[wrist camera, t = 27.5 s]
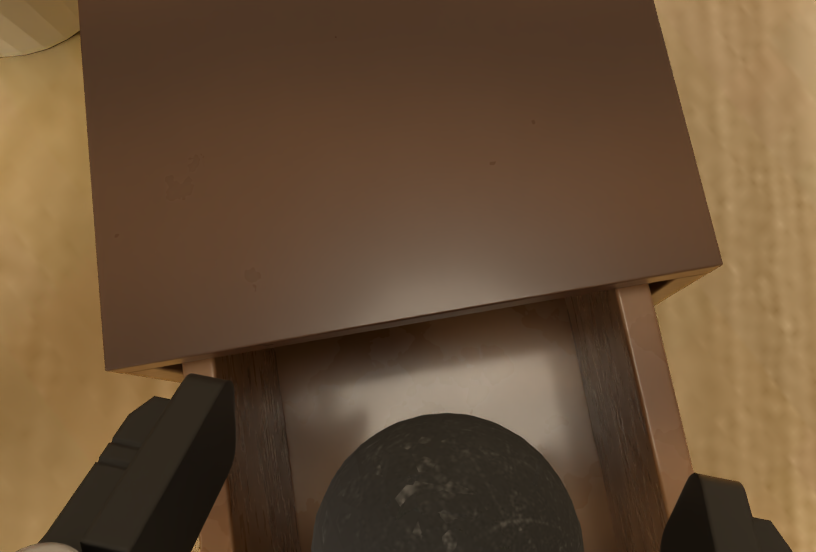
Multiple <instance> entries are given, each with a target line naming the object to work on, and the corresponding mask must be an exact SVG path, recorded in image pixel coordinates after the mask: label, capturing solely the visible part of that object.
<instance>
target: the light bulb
mask: <svg viewBox="0 0 816 552" xmlns="http://www.w3.org/2000/svg"><path fill="white" fill-rule="evenodd" d="M311 552H584V545H583V537H582V529H581V525H580V522H579V519H578V517H577V514H576V511H575V508H574V506H573V503H572V500H571V498H570V496H569V494H568V492H567V490H566V488H565V486H564V485H563V483H562V481H561V479H560V477H559V476H558V475H557V473H556V472H555V471H554V469H553V468H552V467H551V465H550V464H549V462H548V461H547V460H546V459H545V458H544V457H543V455H542V454H541V453H540V452H539V451H537V450H536V449H535V448H534V447H533V446H532V445H530V444H529V443H528V442H527V441H526V440H525V439H523V438H522V437H521V436H519V435H517V434H515V433H514V432H512V431H510V430H508V429H506V428H505V427H503V426H501V425H499V424H497V423H494V422H492V421H489V420H485V419H482V418H479V417H476V416H471V415H468V414H455V413H440V414H428V415H421V416H417V417H414V418H410V419H407V420H403V421H400V422H397V423H395V424H393V425H390V426H389V427H387V428H385V429H383V430H381V431H380V432H378V433H376V434H375V435H374V436H372V437H370V438H369V439H368V440H366V441H365V442H364V443H362V444H361V445H360V446H359V447H358V448H357V449H356V450H355V451H354V452H353V453H352V454H351V455H350V456H349V457H348V458H347V459H346V460H345V461H344V463H343V464H342V465H341V467H340V468H339V470H338V471H337V472H336V474H335V476H334V477H333V479H332V480H331V482H330V485H329V487H328V489H327V491H326V493H325V495H324V497H323V500H322V502H321V505H320V507H319V509H318V512H317V514H316V519H315V524H314V530H313V538H312V545H311Z"/></svg>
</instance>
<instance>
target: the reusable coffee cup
mask: <svg viewBox="0 0 816 552" xmlns="http://www.w3.org/2000/svg"><path fill="white" fill-rule="evenodd" d="M78 31H80V25H79V12H78V0H0V57H9V56H20V55H27V54H31V53H34V52H38V51H41V50H45V49H48V48H50V47H52V46H54V45H56V44H58V43H60V42H63V41H65V40H67V39H68V38H70V37H71V36H73V35H74V34H75V33H77V32H78Z"/></svg>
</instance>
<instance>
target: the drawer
mask: <svg viewBox="0 0 816 552" xmlns="http://www.w3.org/2000/svg"><path fill="white" fill-rule="evenodd" d="M182 367H183V377H184V378H185V377H186V376H187V375H188V374H190V373H194V374H199V375H204V376H209V377H214V378H219V379H224V380H230V381H232V382H233V385H234V397H235V418H236V450H235V455H234V459H233V463H232V466H231V469H230V472H229V474H228V476H227V478H226V480H225V482H224V485H223V487H222V489H221V491H220V493H219V495H218V497H217V499H216V501H215V503H214V505H213V507H212V509H211V511H210V513H209V515H208V518H207V520H206V522H205V524H204V526H203V528H202V530H201V532H200V534H199V541H200V552H311V545H312V538H313V530H314V524H315V519H316V514H317V512H318V509H319V507H320V505H321V502H322V500H323V497H324V495H325V493H326V491H327V489H328V487H329V485H330V482H331V480H332V479H333V477H334V476H335V474H336V472H337V471H338V470H339V468H340V467H341V465H342V464H343V463H344V461H345V460H346V459H347V458H348V457H349V456H350V455H351V454H352V453H353V452H354V451H355V450H356V449H357V448H358V447H359V446H360V445H361V444H362V443H364V442H365V441H366V440H368V439H369V438H370V437H372V436H374V435H375V434H376V433H378V432H380V431H381V430H383V429H385V428H387V427H389V426H390V425H393V424H395V423H397V422H400V421H403V420H407V419H410V418H414V417H417V416H421V415H428V414H440V413H455V414H468V415H471V416H476V417H479V418H482V419H485V420H489V421H492V422H494V423H497V424H499V425H501V426H503V427H505V428H506V429H508V430H510V431H512V432H514V433H515V434H517V435H519V436H521V437H522V438H523V439H525V440H526V441H527V442H528V443H529V444H530V445H532V446H533V447H534V448H535V449H536V450H537V451H539V452H540V453H541V454H542V455H543V457H544V458H545V459H546V460H547V461H548V462H549V464H550V465H551V467H552V468H553V469H554V471H555V472H556V473H557V475H558V476H559V477H560V479H561V481H562V483H563V485H564V486H565V488H566V490H567V492H568V494H569V496H570V498H571V500H572V503H573V506H574V508H575V511H576V514H577V517H578V519H579V522H580V525H581V529H582V537H583V545H584V552H660V545H661V539H662V534H663V531H664V528H665V526H666V524H667V521H668V519H669V517H670V515H671V513H672V511H673V509H674V507H675V505H676V502H677V500H678V498H679V496H680V494H681V492H682V490H683V488H684V485H685V483H686V481H687V479H688V478H689V476H690V475H691V474H693V473H694V471H693V467H692V463H691V459H690V455H689V450H688V446H687V442H686V438H685V434H684V430H683V425H682V421H681V417H680V413H679V409H678V404H677V400H676V396H675V392H674V388H673V384H672V379H671V375H670V371H669V367H668V363H667V359H666V354H665V350H664V346H663V342H662V338H661V333H660V329H659V325H658V321H657V317H656V313H655V308H654V304H653V300H652V296H651V292H650V288H649V283H647V284H641V285H635V286H629V287H623V288H617V289H612V290H606V291H600V292H594V293H588V294H582V295H577V296H571V297H565V298H559V299H553V300H547V301H542V302H536V303H530V304H524V305H518V306H513V307H507V308H501V309H495V310H489V311H483V312H478V313H472V314H466V315H460V316H454V317H448V318H443V319H437V320H431V321H425V322H419V323H413V324H408V325H402V326H396V327H390V328H384V329H378V330H373V331H367V332H361V333H355V334H349V335H344V336H338V337H332V338H326V339H320V340H314V341H309V342H303V343H297V344H291V345H285V346H279V347H274V348H268V349H262V350H256V351H250V352H244V353H239V354H233V355H227V356H221V357H215V358H210V359H204V360H198V361H192V362H186V363H182Z"/></svg>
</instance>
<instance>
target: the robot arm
mask: <svg viewBox="0 0 816 552" xmlns="http://www.w3.org/2000/svg"><path fill="white" fill-rule="evenodd" d="M235 450H236V418H235V397H234V385H233V382H232V381H230V380H224V379H219V378H214V377H209V376H204V375H199V374H194V373H190V374H188V375H187V376H186V377H185V378H184V380H183V381H182V383H181V384H180V386H179V388H178V389H177V391H176V392H175V394H174V395H173V397H172V398H171V399H166V398H161V397H156V396H154V397H152V398H151V399H150V400H148V401H147V402H145V403H144V404H143V405H141V406H140V407H139V408H137V409H136V410H134V411H133V412H132V413H130V414H129V415H128V416H127V418H126V419H125V421H124V422H123V424H122V425H121V426H120V428H119V429H118V431H117V432H116V434H115V435H114V437H113V439H112V442H111V443H109V444H108V445H107V447H106V448H105V449H104V451H103V452H102V454H101V455H100V457H99V461H98V462H95V464H94V465H93V467H92V468H91V470H90V471H89V473H88V474H87V475H86V477H85V478H84V480H83V481H82V483H81V484H80V486H79V487H78V488H77V490H76V491H75V493H74V494H73V496H72V497H71V499H70V500H69V501H68V503H67V504H66V506H65V507H64V509H63V510H62V511H61V513H60V514H59V516H58V517H57V519H56V520H55V522H54V523H53V524H52V526H51V527H50V529H49V530H48V532H47V533H46V534H45V535H44V537H43V538H42V539H41V540H40V541H39V542H38V543H37V544H34V545H30V546H27V547H25V548H22V549H20V550H18V551H16V552H191V551H192V548H193V546H194V544H195V542H196V540H197V538H198V536H199V534H200V532H201V530H202V528H203V526H204V524H205V522H206V520H207V518H208V515H209V513H210V511H211V509H212V507H213V505H214V503H215V501H216V499H217V497H218V495H219V493H220V491H221V489H222V487H223V485H224V482H225V480H226V478H227V476H228V474H229V472H230V469H231V466H232V463H233V459H234V455H235ZM660 552H792V550H791V549H790V547H789V546H788V544H787V543H786V542H785V540H784V539H783V537H782V536H781V535H780V533H779V532H778V531H777V529H776V528H775V526H774V525H773V524H772V522H771V521H769V520H764V519H759V518H754V517H752V514H751V510H750V506H749V503H748V499H747V495H746V492H745V489H744V487H743V485H742V484H741V483H740V482H737V481H732V480H727V479H722V478H717V477H712V476H707V475H702V474H697V473H693V474H691V475H690V476H689V478H688V479H687V481H686V483H685V485H684V488H683V490H682V492H681V494H680V496H679V498H678V500H677V502H676V505H675V507H674V509H673V511H672V513H671V515H670V517H669V519H668V521H667V524H666V526H665V528H664V531H663V534H662V539H661V545H660Z"/></svg>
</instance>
